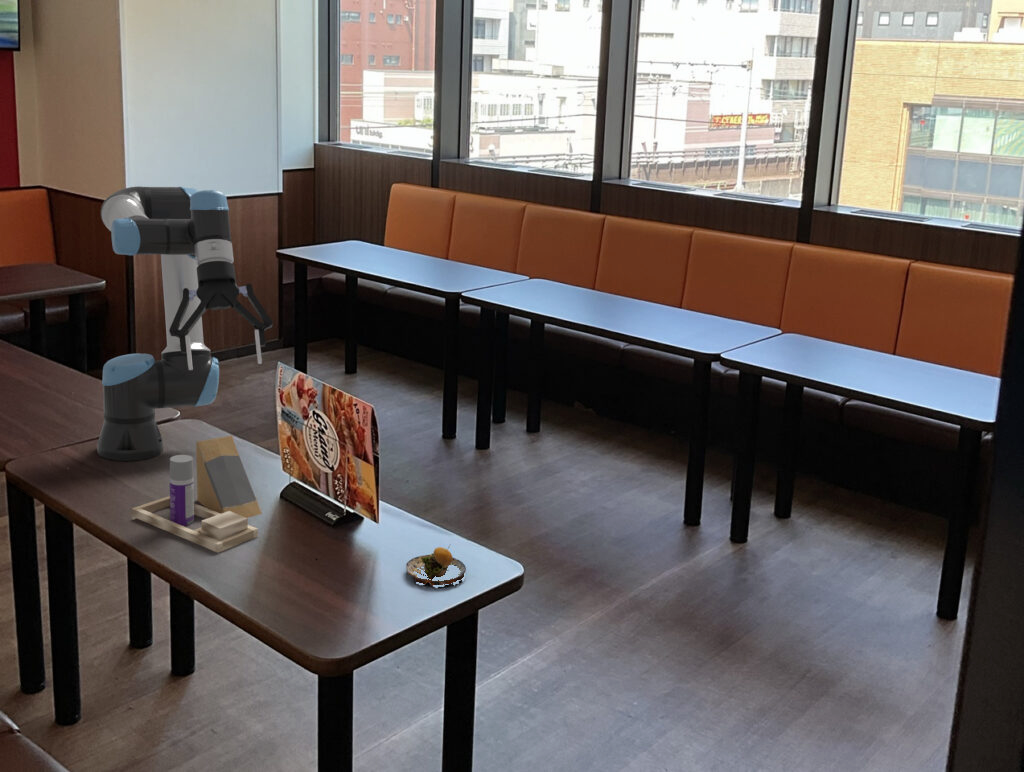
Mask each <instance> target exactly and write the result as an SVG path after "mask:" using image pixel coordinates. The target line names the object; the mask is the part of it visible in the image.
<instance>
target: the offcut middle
mask: <svg viewBox="0 0 1024 772" xmlns="http://www.w3.org/2000/svg"><path fill="white" fill-rule="evenodd" d="M245 530H246V529H243V530H240V531H238V532H235V533H232V534H230V535H227V536H224V537H222V538H219V537H217V536H214V535H212V534H210V533H207V532H205V531H203V530H200V533H201V534H203V535H206V536H208V537H210V538H213V539H215V540H218V541H220V540H222V539H225V538H227V537H230V536H232V535H235V534H237V533H240V532H242V531H245Z"/></svg>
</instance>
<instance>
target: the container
mask: <svg viewBox="0 0 1024 772" xmlns="http://www.w3.org/2000/svg"><path fill="white" fill-rule="evenodd" d="M194 479H195V478H194V457H193V456H191V455H188V454H187V455H186V454H177V455H173V456H171V457H169V496H170V507H169V515H170V516H169V517H170V521H172V522H174V523H177V524H179V525H182V526H184V527H185V526H189V525H192V524H193V523H194V521H195V514H194V503H195V493H194V491H195V490H194V487H195V485H194V484H195V483H194V481H195V480H194Z"/></svg>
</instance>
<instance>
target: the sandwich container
mask: <svg viewBox="0 0 1024 772" xmlns="http://www.w3.org/2000/svg"><path fill="white" fill-rule="evenodd" d="M195 446H196V447H195V449H196V453H195V454H196V484H197V485H196V486H197V487H196V489H197V494H196V495H197V499H196V500H197V502H198V503H199V504H200V505H201V506H203V507H205V508H208V509H210V510H213V511H215V512H218V513H220V514H222V513H225V512H228V511H231V512H233V513H236V514H238V515H241V516H243V517H245V518H252V517H256V516H258V515H259V516H260V515H261V514H263V512H262V509H261V507H260V505H259V502H258V500H257V497H256V495H255V492H254V490H253V487H252V485H251V483H250V482H251V481H250V479H249V477H248V475H247V473H246V469H245V467H244V465H243V462H242V459H241V457H240V454H239V452H238V449H237V446H236V442H235V440H234V438H233V435H228V436H221V437H215V438H214V437H213V438H210V439H202V440H198V441H196V444H195Z"/></svg>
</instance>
